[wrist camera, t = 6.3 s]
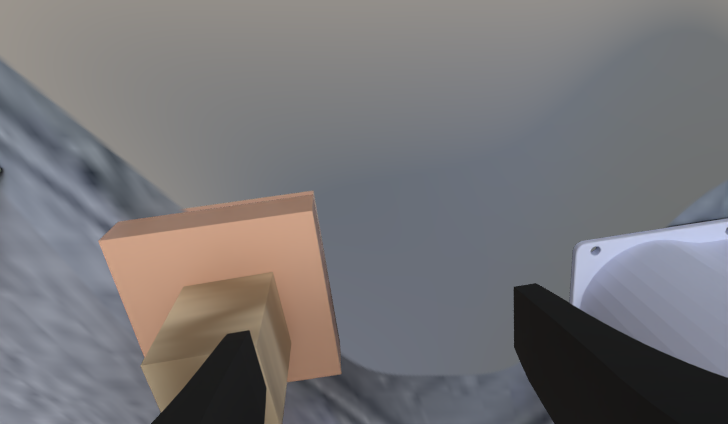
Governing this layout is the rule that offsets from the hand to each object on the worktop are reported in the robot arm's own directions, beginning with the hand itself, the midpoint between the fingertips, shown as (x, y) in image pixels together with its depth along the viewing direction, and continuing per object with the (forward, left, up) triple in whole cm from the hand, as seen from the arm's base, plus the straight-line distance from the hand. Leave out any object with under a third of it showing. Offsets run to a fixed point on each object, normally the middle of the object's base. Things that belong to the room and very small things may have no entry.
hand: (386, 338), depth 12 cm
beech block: (+6, +4, -8) cm, 11 cm away
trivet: (+7, +4, -10) cm, 13 cm away
